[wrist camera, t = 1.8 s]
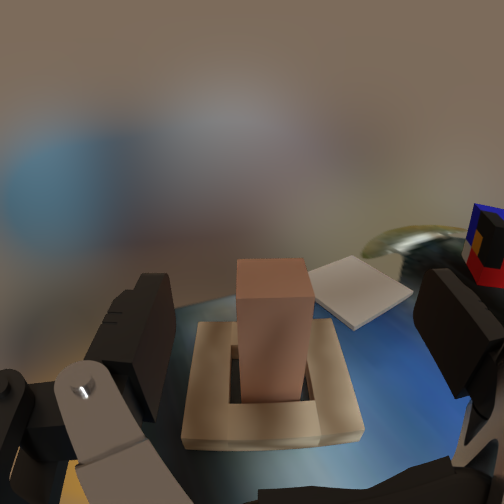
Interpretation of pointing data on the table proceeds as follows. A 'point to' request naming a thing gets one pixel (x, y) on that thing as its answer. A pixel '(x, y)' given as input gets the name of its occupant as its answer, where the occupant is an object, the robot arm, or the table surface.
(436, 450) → the table surface
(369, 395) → the table surface
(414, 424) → the table surface
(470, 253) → the puzzle toy
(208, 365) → the puzzle board
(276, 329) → the terracotta block
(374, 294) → the grey pad
